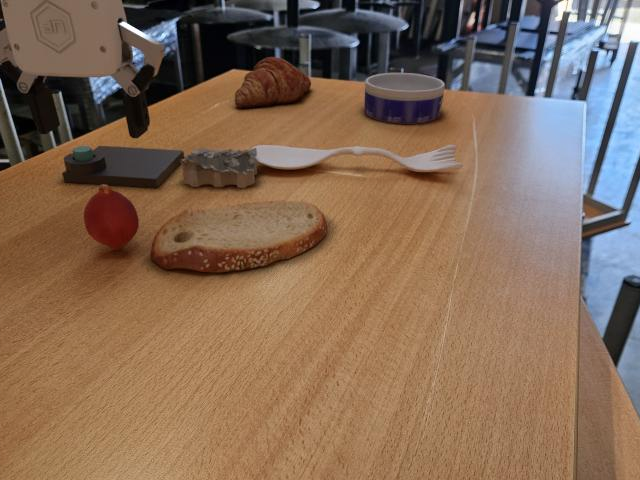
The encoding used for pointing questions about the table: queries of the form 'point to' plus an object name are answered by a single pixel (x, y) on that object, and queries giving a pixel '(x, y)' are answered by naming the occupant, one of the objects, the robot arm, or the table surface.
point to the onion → (111, 218)
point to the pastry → (272, 84)
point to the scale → (123, 166)
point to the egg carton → (220, 167)
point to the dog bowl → (403, 97)
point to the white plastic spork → (307, 157)
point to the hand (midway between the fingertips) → (94, 132)
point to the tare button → (83, 153)
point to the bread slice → (238, 236)
